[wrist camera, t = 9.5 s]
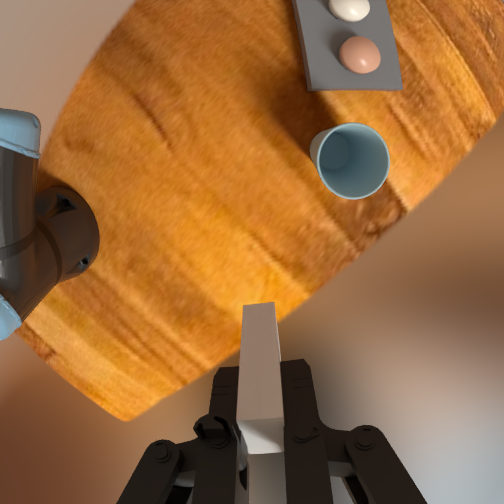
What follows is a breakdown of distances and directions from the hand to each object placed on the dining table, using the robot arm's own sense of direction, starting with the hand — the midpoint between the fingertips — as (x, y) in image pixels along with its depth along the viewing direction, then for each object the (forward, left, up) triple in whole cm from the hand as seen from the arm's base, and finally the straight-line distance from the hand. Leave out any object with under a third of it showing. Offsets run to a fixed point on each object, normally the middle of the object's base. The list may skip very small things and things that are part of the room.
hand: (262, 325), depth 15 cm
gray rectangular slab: (+14, +24, -26) cm, 38 cm away
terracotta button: (+14, +17, -25) cm, 33 cm away
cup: (+10, +5, -27) cm, 29 cm away
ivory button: (+14, +24, -25) cm, 37 cm away
